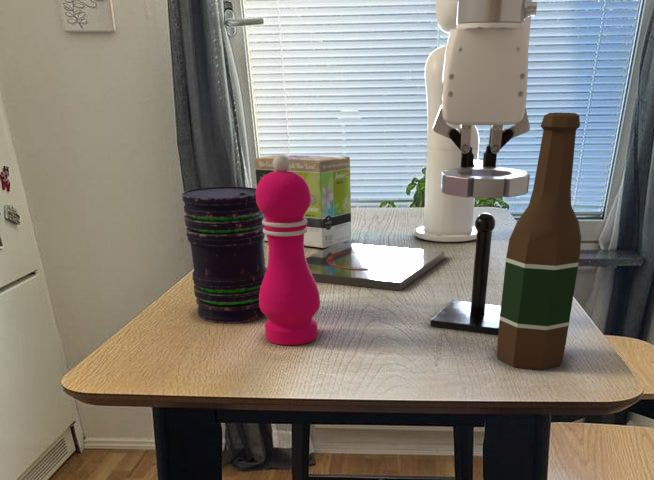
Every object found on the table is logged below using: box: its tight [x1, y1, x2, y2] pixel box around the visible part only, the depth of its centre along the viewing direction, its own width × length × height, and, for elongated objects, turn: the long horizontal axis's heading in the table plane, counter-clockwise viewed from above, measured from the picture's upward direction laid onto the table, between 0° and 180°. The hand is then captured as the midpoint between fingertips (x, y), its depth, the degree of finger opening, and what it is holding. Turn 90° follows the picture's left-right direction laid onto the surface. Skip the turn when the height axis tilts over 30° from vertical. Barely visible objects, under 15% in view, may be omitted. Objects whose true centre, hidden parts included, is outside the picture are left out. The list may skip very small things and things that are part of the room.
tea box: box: [254, 153, 352, 249], centre depth 125 cm, size 15×10×15 cm, turn 58°
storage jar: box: [181, 186, 267, 324], centre depth 86 cm, size 10×10×15 cm
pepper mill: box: [256, 154, 321, 346], centre depth 76 cm, size 7×7×20 cm
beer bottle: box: [496, 112, 582, 371], centre depth 68 cm, size 8×8×24 cm
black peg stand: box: [429, 212, 501, 336], centre depth 83 cm, size 10×10×13 cm
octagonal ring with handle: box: [441, 159, 531, 199], centre depth 82 cm, size 17×10×2 cm, turn 177°
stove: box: [306, 242, 446, 292], centre depth 110 cm, size 22×20×1 cm
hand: (476, 185), depth 87 cm, fingers closed on octagonal ring with handle, 1 cm apart
